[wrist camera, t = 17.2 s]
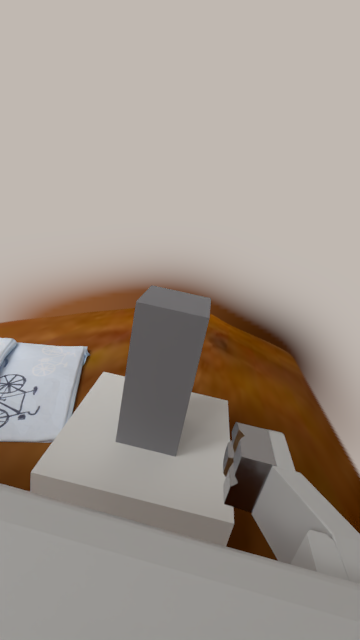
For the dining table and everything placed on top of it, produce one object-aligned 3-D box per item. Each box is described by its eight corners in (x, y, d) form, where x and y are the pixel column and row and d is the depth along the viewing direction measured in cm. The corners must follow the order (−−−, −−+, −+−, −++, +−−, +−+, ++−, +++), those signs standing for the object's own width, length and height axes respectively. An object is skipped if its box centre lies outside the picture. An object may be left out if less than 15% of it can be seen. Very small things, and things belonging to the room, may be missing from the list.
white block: (29, 508, 22) (30, 472, 21) (100, 398, 35) (103, 371, 34) (221, 558, 21) (234, 523, 20) (220, 426, 34) (227, 400, 33)
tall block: (115, 441, 25) (136, 301, 20) (131, 405, 29) (151, 285, 25) (175, 456, 24) (209, 318, 20) (182, 417, 29) (210, 298, 25)
